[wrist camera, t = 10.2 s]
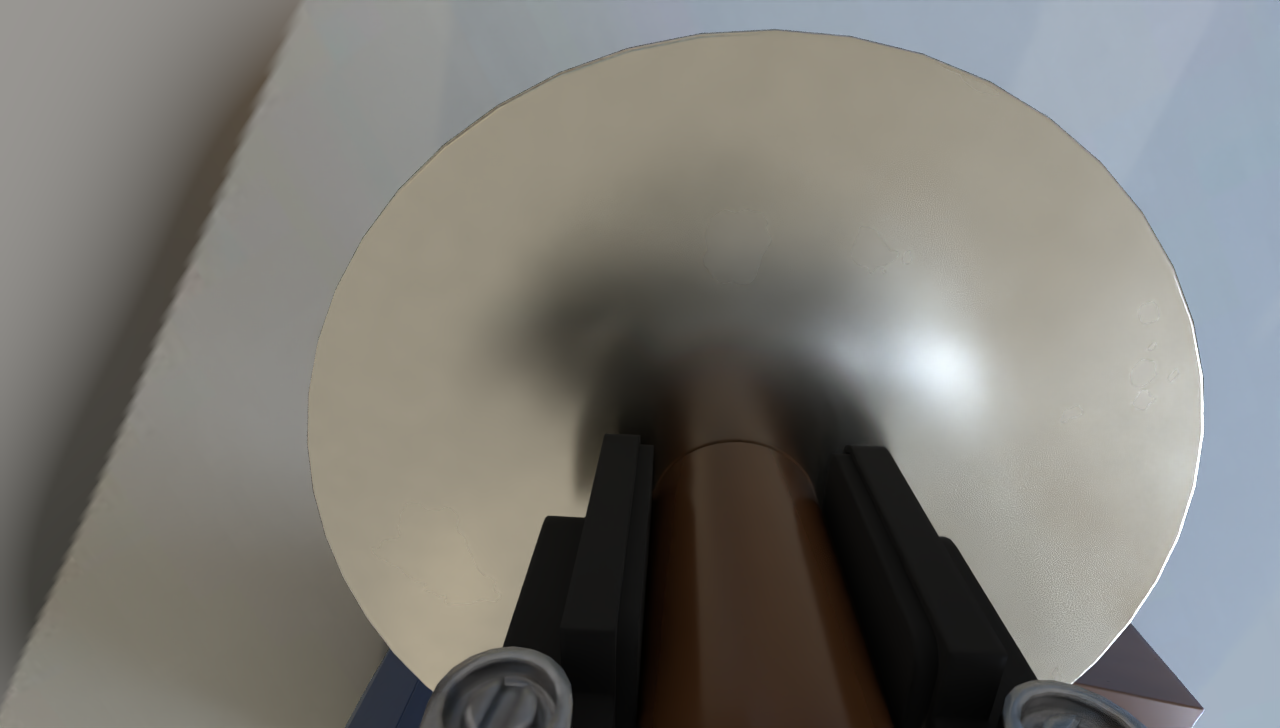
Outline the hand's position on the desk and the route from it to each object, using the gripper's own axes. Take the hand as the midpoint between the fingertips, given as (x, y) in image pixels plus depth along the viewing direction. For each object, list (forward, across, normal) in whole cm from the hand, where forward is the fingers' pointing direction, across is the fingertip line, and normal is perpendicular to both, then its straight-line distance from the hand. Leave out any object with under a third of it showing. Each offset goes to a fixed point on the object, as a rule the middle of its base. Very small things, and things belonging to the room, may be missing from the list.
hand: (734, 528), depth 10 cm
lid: (+1, 0, 0) cm, 1 cm away
